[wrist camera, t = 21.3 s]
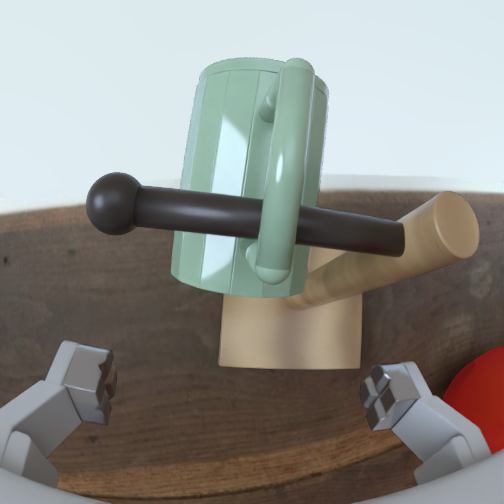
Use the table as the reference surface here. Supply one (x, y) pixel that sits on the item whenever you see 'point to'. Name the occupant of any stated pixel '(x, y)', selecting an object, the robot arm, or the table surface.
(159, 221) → the mug stand
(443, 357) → the table surface
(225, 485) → the table surface
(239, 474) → the table surface
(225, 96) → the enamel mug
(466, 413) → the tomato
